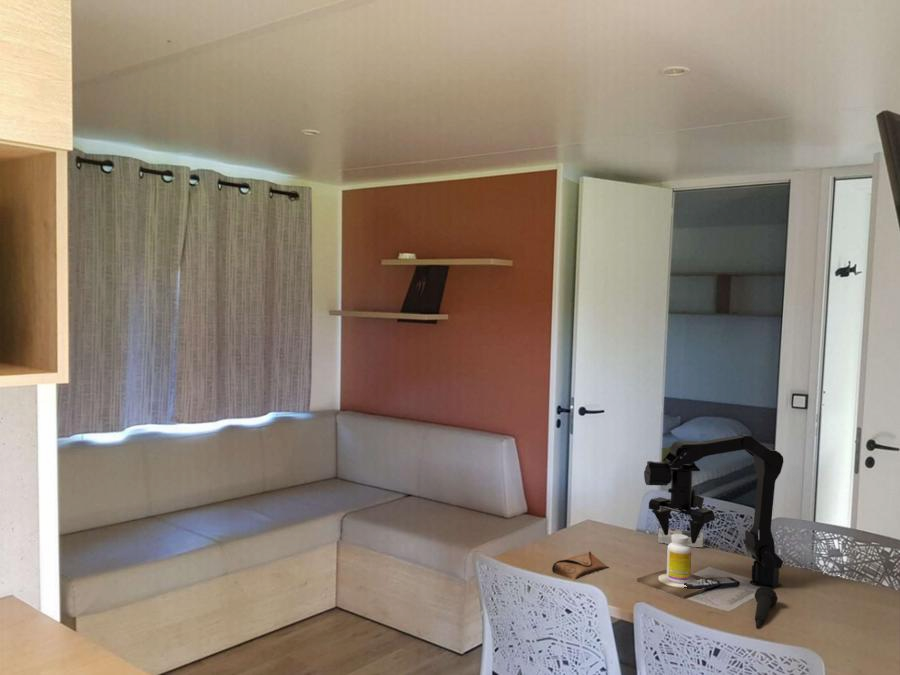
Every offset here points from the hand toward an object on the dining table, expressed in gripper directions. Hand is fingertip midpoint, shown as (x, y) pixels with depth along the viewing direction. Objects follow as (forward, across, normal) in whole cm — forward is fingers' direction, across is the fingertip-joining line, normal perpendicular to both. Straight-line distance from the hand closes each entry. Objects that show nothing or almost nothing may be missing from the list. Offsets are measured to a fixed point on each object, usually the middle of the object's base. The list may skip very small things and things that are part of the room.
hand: (679, 539), depth 214 cm
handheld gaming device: (+14, +23, -34) cm, 44 cm away
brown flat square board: (+13, 0, 0) cm, 13 cm away
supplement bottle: (+12, 0, 0) cm, 12 cm away
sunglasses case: (+14, +24, +15) cm, 31 cm away
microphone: (+14, -26, +1) cm, 29 cm away
